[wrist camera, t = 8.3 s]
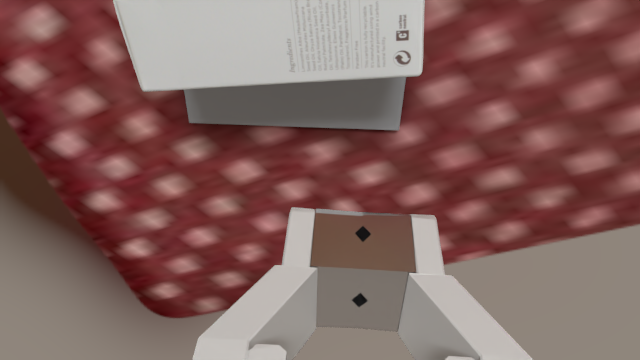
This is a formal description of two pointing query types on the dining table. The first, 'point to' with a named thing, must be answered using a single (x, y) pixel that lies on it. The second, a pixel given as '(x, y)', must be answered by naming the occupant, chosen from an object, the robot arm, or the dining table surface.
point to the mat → (302, 104)
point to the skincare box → (270, 41)
